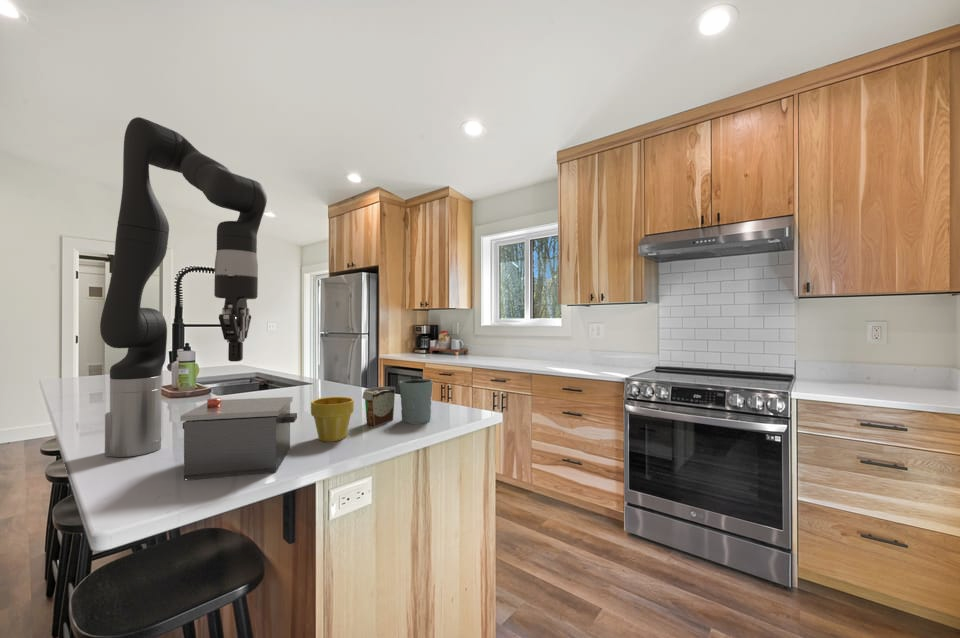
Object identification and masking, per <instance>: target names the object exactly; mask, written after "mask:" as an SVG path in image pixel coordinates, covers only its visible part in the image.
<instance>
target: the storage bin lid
mask: <svg viewBox="0 0 960 638" xmlns="http://www.w3.org/2000/svg"><path fill="white" fill-rule="evenodd" d="M206 401H207V402H205V403H204V404H201V405H200V406H197V407H195V408H193V409H191V410H189V411H186V412H185V413H183V414H181V415H180V421H179V422H185V421H191V420H209V419H228V418H246V417H265V416H279V415H280V414H281V413H282V412H283V411H284V410H285V409H286V407H287V406H288V405H289V404H290V405H291V403H292V402H293V401H294V400H293V396H284V397H283V396H282V397H281V396H279V397H261V398H260V397H257V398H254V397H253V398H238V399H237V398H235V399H233V398H232V399H221V398H220V397H218V398H217V397H215V398H208V399H207V400H206Z"/></svg>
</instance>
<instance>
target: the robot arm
mask: <svg viewBox="0 0 960 638" xmlns="http://www.w3.org/2000/svg"><path fill="white" fill-rule="evenodd" d="M122 159H123V160H122V161H123V162H122V163H123V164H122V187H121V188H122V190H121V196H120V197H121V199H120V206H119V207H120V208H119V213H118V219H117V224H116V225H117V227H116V232H115V242H114V243H115V245H114V255H113V261H112V266H111V267H112V269H111V274H110V280H109V285H108V289H107V294H106V297H105V301H104V305H103V309H102V313H101V317H100V322H99V329H100V330H99V331H100V336H101V339H102V340H103V342H104V343H105V344H106V345H107V346H108V347H111V348H113V349H127V353H126V354H125V356H124V357H123V358H122V359H121V360H119V361H118V362H116V363H114V364H112V365H111V367H110V369H109V411H108V412H106V413H105V414H104V457H113V458H124V457H125V458H126V457H127V458H128V457H135V456H142V455H145V454H151V453H153V452H156V451H158V450H160V449H161V448H162V369H163V367H164V365H165V361H166V356H167V344H168V343H167V342H168V326H167V321H166V319H165V316H164V315H163V314H162V312H161V311H159V310H157V309H155V308H151V307H141V304H142V303H141V302H142V296H143V292H144V289H145V288H146V287H145V286H146V284H147V283H148V281H149V280H150V278H151V277H152V275H154V272H156V270H157V269H158V267H160V265H161V264H162V262H163V260H164V259H165V256H166V254H167V251H168V250H167V249H168V243H169V236H170V235H169V234H170V224H169V221H168V219H167V216H166V215H165V211H164V210H163V208H162V206H161V205H160V203H159V201H158V199H157V197H156V195H155V192H154V191H153V188H152V187H153V186H152V185H151V180H150V166H153V167H155V168H158V169H159V168H160V169H162V170H166V171H173V172H176V173H179V174H182V176H183V178H184V179H185V181H187V182H188V183H189V184H190V185H192V186H193V187H195V188H196V189H197V190H199V191H201V192H202V194H203V195H204V196H205V198H206V199H207V201H209V203H211V204H213V205H215V206H217V207H220V208H224V209H227V210H231V211H235V212H238V213H239V215H238V217H237V220H225V221H222V222H219V223H218V225H217V228H216V254H215V260H214V290H213V291H214V294H213V295H214V298H217V299H225V300H224V304H223V307H222V310H221V313H220V314H218V321H219V324H220V327H221V332H222V336H223V339H224V341H226V342H227V343H228V348H227V349H228V356H227V357H228V359H227V360H228V361H229V362H241V361H243V359H244V350H243V349H244V342H245V340H246V339H247V338H248V334H249V333H248V332H249V329H250V325H251V320H252V315H251V314H250V308H248V303H247V302H248V301H247V300H256V299H257V298H258V287H259V285H258V282H259V280H258V277H259V276H258V275H259V271H258V270H259V268H258V267H259V264H258V256H257V255H258V254H257V252H258V248H257V246H258V244H257V243H258V237H257V236H258V232H259V228H260V226H261V223H262V218H263V216H264V213H265V210H266V207H267V200H268V197H267V193H266V190H265V188H264V186H263V184H261V183H260V182H259V181H257V180H254V179H251V178H248V177H244V176H242V175H240V174H236V173H233V172H232V171H231V170H230V169H229V168H228V167H226V166H225V165H224V164H222V163H220V162H219V161H216V160H215V159H213V158H212V157H209V156H208V155H205V154H203V153H201V152H200V151H199V150H198V149H197V148H196V147H194V145H193V144H192V143H191V142H190V140H188V139H187V138H185V136H183V135H181V133H179V132H177V131H175V130H173V129H171V128H168V127H166V126H163V125H162V124H158V123H156V122H154V121H151V120H148V119H146V118H144V117H141V116H140V117H139V116H138V117H133V118H132V119H131V120H130V121H129V122H128V123H127V126H126V130H125V133H124V139H123V157H122Z"/></svg>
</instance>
